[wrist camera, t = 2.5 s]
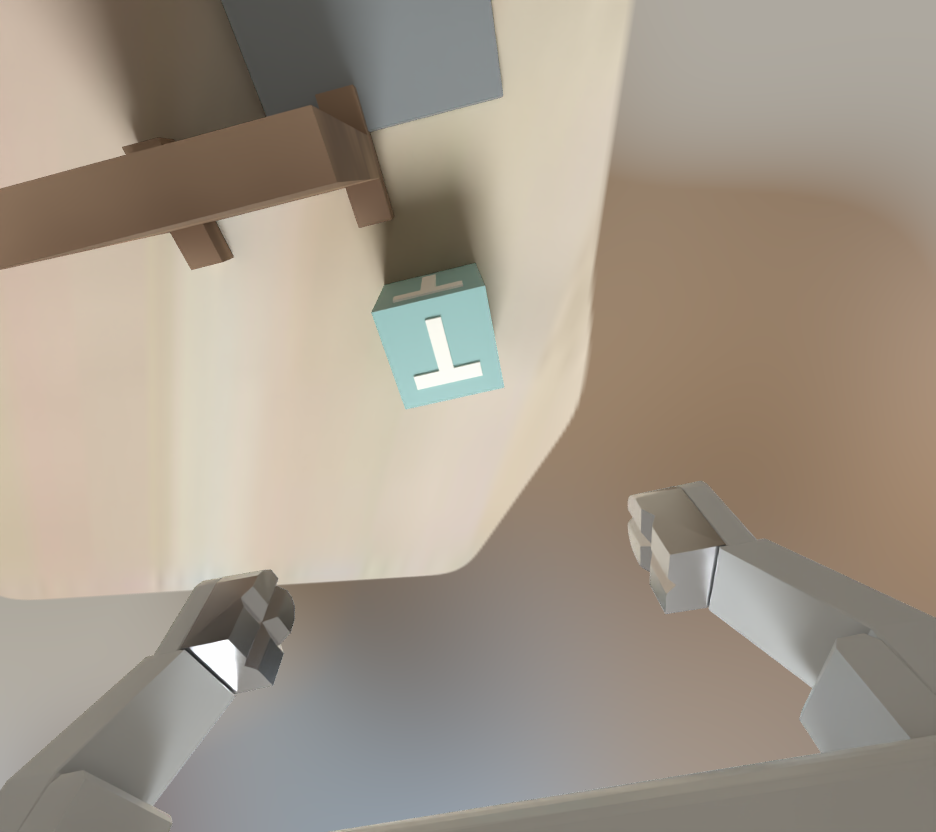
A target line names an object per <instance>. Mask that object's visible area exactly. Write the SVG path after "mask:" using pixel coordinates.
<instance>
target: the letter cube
mask: <svg viewBox="0 0 936 832" xmlns="http://www.w3.org/2000/svg"><path fill="white" fill-rule="evenodd" d="M371 313H372V316H373V319H374V321H375V324H376V327H377V330H378V333H379V336H380V338H381V341H382V344H383V347H384V350H385V353H386V355H387V358H388V361H389V364H390V367H391V370H392V372H393V375H394V378H395V381H396V384H397V386H398V389H399V392H400V395H401V398H402V401H403V403H404V406H405V409H410V408H414V407H419V406H423V405H428V404H432V403H437V402H441V401H446V400H450V399H455V398H459V397H464V396H468V395H473V394H477V393H482V392H486V391H491V390H495V389H500V388H504V384H503V378H502V373H501V368H500V362H499V357H498V352H497V347H496V341H495V336H494V331H493V325H492V320H491V315H490V310H489V304H488V299H487V294H486V288H485V284H484V282H483V280H482V277H481V275H480V273H479V270H478V268H477V265H476V263H473V264H469V265H465V266H461V267H457V268H453V269H448V270H444V271H440V272H436V273H432V274H428V275H424V276H420V277H415V278H411V279H407V280H403V281H399V282H395V283H391V284H386V285H384V287H383V289H382V291H381V293H380V295H379V298H378V300H377V302H376V304H375V306H374V308H373V310H372V312H371Z"/></svg>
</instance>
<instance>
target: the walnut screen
mask: <svg viewBox="0 0 936 832" xmlns="http://www.w3.org/2000/svg"><path fill="white" fill-rule="evenodd" d="M315 97H316V100H317V103H318V106H319V109H318V108H316V107H314V106H312V105H309V106H305V107H301V108H297V109H294V110H290V111H286V112H283V113H279V114H275V115H271V116H268V117H264V118H260V119H257V120H253V121H249V122H246V123H242V124H238V125H234V126H231V127H227V128H223V129H220V130H216V131H212V132H209V133H205V134H201V135H197V136H194V137H190V138H186V139H183V140H179V141H175V140H174V139H166V138H158V137H157V138H154V139H150V140H146V141H143V142H139V143H135V144H132V145H128V146H124V147H122V148H123V150H124V152H125V154H126V155H123V156H120V157H116V158H112V159H109V160H105V161H101V162H97V163H94V164H90V165H86V166H83V167H79V168H75V169H72V170H68V171H64V172H60V173H57V174H53V175H49V176H46V177H42V178H38V179H35V180H31V181H27V182H23V183H20V184H16V185H12V186H9V187H5V188H1V189H0V270H2V269H6V268H11V267H15V266H20V265H24V264H29V263H33V262H38V261H42V260H47V259H51V258H56V257H60V256H65V255H69V254H74V253H78V252H83V251H87V250H92V249H96V248H101V247H105V246H110V245H114V244H119V243H123V242H128V241H132V240H137V239H141V238H146V237H150V236H155V235H159V234H164V233H168V232H170V233H171V235H172V237H173V238H174V240H175V242H176V244H177V245H178V247H179V249H180V251H181V253H182V254H183V256H184V258H185V260H186V261H187V263H188V265H189V267H190V268H191V270H193V269H197V268H201V267H205V266H209V265H213V264H217V263H221V262H224V261H226V260H229V259H231V258H234V257H233V255H232V253H231V251H230V249H229V247H228V245H227V243H226V241H225V239H224V237H223V236H222V234H221V232H220V230H219V228H218V226H217V224H216V222H215V221H217V220H221V219H225V218H229V217H233V216H237V215H241V214H245V213H249V212H252V211H256V210H260V209H264V208H268V207H272V206H276V205H280V204H284V203H288V202H291V201H295V200H299V199H303V198H307V197H311V196H315V195H319V194H323V193H326V192H330V191H334V190H338V189H342V188H346V191H347V194H348V197H349V200H350V203H351V206H352V209H353V212H354V215H355V218H356V221H357V224H358V227H359V228H361V227H365V226H369V225H373V224H377V223H381V222H385V221H389V220H392V219H393V218H394V215H393V212H392V208H391V205H390V201H389V198H388V194H387V191H386V187H385V184H384V180H383V176H382V173H381V169H380V166H379V162H378V159H377V155H376V152H375V148H374V145H373V141H372V138H371V134H370V132H369V131H368V128H367V125H366V121H365V118H364V114H363V111H362V107H361V104H360V100H359V97H358V93H357V90H356V87H355V86H354V85H349V86H345V87H342V88H338V89H334V90H331V91H327V92H323V93H319V94H316V95H315Z"/></svg>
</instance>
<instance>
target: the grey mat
mask: <svg viewBox="0 0 936 832" xmlns="http://www.w3.org/2000/svg"><path fill="white" fill-rule="evenodd" d="M221 1H222V4H223V7H224V9H225V12H226V14H227V17H228V19H229V22H230V24H231V27H232V30H233V32H234V35H235V37H236V40H237V42H238V45H239V47H240V50H241V53H242V55H243V58H244V60H245V63H246V65H247V68H248V70H249V73H250V76H251V78H252V81H253V83H254V86H255V88H256V91H257V93H258V96H259V99H260V101H261V104H262V106H263V109H264V111H265V114H266V116H267V117H268V116H271V115H275V114H279V113H283V112H286V111H290V110H294V109H297V108H301V107H305V106H309V105H312V106H314V107H316V108H318V109H319V106H318V103H317V100H316V97H315V95H316V94H319V93H323V92H327V91H331V90H334V89H338V88H342V87H345V86H349V85H354V86H355V87H356V90H357V93H358V97H359V100H360V104H361V107H362V111H363V114H364V118H365V121H366V125H367V128H368V131H369V132H372V131H376V130H380V129H383V128H387V127H391V126H395V125H398V124H402V123H406V122H410V121H414V120H417V119H421V118H425V117H429V116H433V115H436V114H440V113H444V112H448V111H452V110H455V109H459V108H463V107H467V106H471V105H474V104H478V103H482V102H486V101H489V100H493V99H497V98H501V97H502V96H503V90H502V83H501V75H500V68H499V60H498V52H497V45H496V37H495V29H494V22H493V14H492V7H491V0H221Z"/></svg>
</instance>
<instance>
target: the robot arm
mask: <svg viewBox="0 0 936 832" xmlns="http://www.w3.org/2000/svg"><path fill="white" fill-rule="evenodd" d="M628 510H629V512H630V513H631V515H632V517H633V518H632V519H631V520H630V521H629V523H628V534H629V538H630V543H631V547H632V549H633V552H634V554H635V556H636V558H637V561H638V563H639V565H640V566H641V567H642V568H644V569H645V570H647V571H649V572H650V586H651V588H652V590H653V592H654V593H655V595H656V597H657V599H658V601H659V603H660V604H661V607H662V608H663V610H664V612H665V614H668V613H675V612H681V611H687V610H694V609H700V608H707V607H709V610H710V611H712V612H713V613H714V614H715V615H717V616H718V617H719V618H721V619H722V620H723V621H725V622H726V623H727V624H729V625H730V626H731V627H732V628H734V629H735V630H736V631H738V632H739V633H740V634H742V635H743V636H744V637H746V638H747V639H748V640H750V641H751V642H752V643H754V644H755V645H756V646H758V647H759V648H760V649H762V650H763V651H764V652H766V653H767V654H768V655H770V656H771V657H772V658H773V659H775V660H776V661H777V662H779V663H780V664H781V665H783V666H784V667H785V668H787V669H788V670H789V671H791V672H792V673H793V674H795V675H796V676H797V677H799V678H800V679H801V680H803V681H804V682H805V683H806V684H808V685H809V686H811V687H812V690H811V693H810V694H809V697H808V699H807V701H806V703H805V705H804V707H803V709H802V712H801V715H800V721H801V723H802V724H803V726H804V727H805V729H806V730H807V732H808V734H809V735H810V737H811V738H812V739H813V741H814V742H815V744H816V746H817V747H818V749H819V750H820V752H821V753H819V754H813V755H806V756H800V757H794V758H787V759H781V760H775V761H769V762H763V763H756V764H750V765H743V766H737V767H731V768H725V769H718V770H712V771H706V772H700V773H693V774H687V775H681V776H675V777H668V778H663V779H657V780H649V781H643V782H637V783H631V784H625V785H619V786H612V787H606V788H599V789H593V790H587V791H581V792H574V793H568V794H562V795H556V796H550V797H543V798H537V799H531V800H524V801H519V802H512V803H506V804H499V805H493V806H487V807H480V808H474V809H468V810H462V811H456V812H449V813H443V814H437V815H431V816H424V817H418V818H412V819H406V820H400V821H393V822H387V823H380V824H374V825H368V826H361V827H355V828H349V829H343V830H337V831H331V832H936V618H935V617H933V616H931V615H929V614H926V613H924V612H922V611H920V610H918V609H916V608H914V607H911V606H909V605H907V604H905V603H903V602H901V601H898V600H896V599H894V598H892V597H890V596H888V595H886V594H883V593H881V592H879V591H877V590H874V589H873V588H870V587H868V586H866V585H864V584H862V583H860V582H858V581H855V580H853V579H851V578H849V577H847V576H845V575H842V574H840V573H838V572H836V571H834V570H832V569H830V568H827V567H825V566H823V565H821V564H819V563H816V562H815V561H812V560H810V559H808V558H806V557H804V556H802V555H799V554H797V553H795V552H793V551H791V550H789V549H786V548H784V547H782V546H780V545H778V544H776V543H774V542H771V541H769V540H767V539H758V540H757V539H756V538H755V537H754V536H753V535H752V534H751V533H750V531H749V530H748V529H747V528H746V527H745V526H744V525H743V524H742V522H741V521H740V520H739V519H738V518H737V517H736V516H735V515H734V514H733V513H732V511H731V510H730V509H729V508H728V507H727V506H726V505H725V503H724V502H723V501H722V500H721V499H720V498H719V497H718V496H717V495H716V493H714V491H713V490H712V489H711V488H710V487H709V486H708V484H706V483H704V482H703V481H698V482H694V483H689V484H684V485H679V486H676V487H675V486H673V487H669V488H665V489H659V490H654V491H650V492H645V493H641V494H636V495H631V496H630V497H629V499H628ZM277 582H278V577H277V576H276V575H275V574H274V573H273V571H272V570H261V571H255V572H249V573H243V574H238V575H232V576H226V577H222V578H217V579H211V580H205V581H202V582H201V583H200V584H198V585H197V586H196V587H195V588H194V590H193V591H192V593H191V594H190V596H189V598H188V599H187V601H186V603H185V604H184V606H183V608H182V609H181V611H180V613H179V614H178V616H177V618H176V619H175V621H174V622H173V624H172V626H171V627H170V629H169V631H168V633H167V634H166V636H165V638H164V639H163V641H162V642H161V644H160V646H159V647H158V649H157V650H156V652H155V654H154V655H152V656H148V657H146V658H145V659H144V660H143V661H141V662H140V663H139V664H138V665H137V666H136V667H135V668H134V669H133V670H131V671H130V672H129V673H128V674H127V675H126V676H125V677H123V678H122V679H121V680H120V681H119V682H118V683H117V684H116V685H114V686H113V687H112V688H111V689H110V690H109V691H108V692H106V693H105V694H104V695H103V696H102V697H101V698H100V699H99V700H98V701H96V702H95V703H94V704H93V705H92V706H91V707H90V708H89V709H87V710H86V711H85V712H84V713H83V714H82V715H81V716H80V717H78V718H77V719H76V720H75V721H74V722H73V723H72V724H71V725H70V726H68V727H67V728H66V729H65V730H64V731H63V732H62V733H60V734H59V735H58V736H57V737H56V738H55V739H54V740H53V741H51V742H50V743H49V744H48V745H47V746H46V747H45V748H44V749H42V750H41V751H40V752H39V753H38V754H37V755H36V756H35V757H33V758H32V759H31V760H30V761H29V762H28V763H27V764H26V765H25V766H23V767H22V768H21V769H20V770H19V771H18V772H17V773H15V774H14V775H13V776H12V777H11V778H10V779H9V780H8V781H7V782H6V783H5V785H4V786H3V787H2V789H1V790H0V832H169V831H170V828H171V826H172V819H171V816H170V815H169V814H167V813H165V812H163V811H161V810H159V809H157V808H155V807H153V805H154V804H155V803H156V801H157V800H158V799H159V797H160V796H161V795H162V793H163V792H164V790H165V789H166V788H167V787H168V785H169V784H170V783H171V781H172V780H173V779H174V777H175V776H176V775H177V773H178V772H179V771H180V769H181V768H182V767H183V765H184V764H185V763H186V761H187V760H188V759H189V757H190V756H191V755H192V753H193V752H194V751H195V750H196V748H197V747H198V745H199V744H200V743H201V741H202V740H203V739H204V737H205V736H206V735H207V733H208V732H209V731H210V730H211V728H212V727H213V726H214V724H215V723H216V722H217V720H218V719H219V718H220V716H221V715H222V714H223V712H224V711H225V710H226V708H227V707H228V706H229V704H230V703H231V702H232V700H233V699H234V698H235V695H234V694H237V693H242V692H247V691H251V690H256V689H260V688H265V687H270V686H273V684H274V681H275V678H276V675H277V672H278V669H279V666H280V663H281V660H282V657H283V654H284V653H283V650H282V647H281V643H282V642H283V641H284V640H285V639H286V638H287V636H288V635H289V634H290V633H291V630H292V626H293V623H294V619H295V605H294V602H293V599H292V597H291V595H290V594H289V592H288V591H287V590H285V589H282V588H280V587H278V586H276V585H277Z"/></svg>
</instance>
